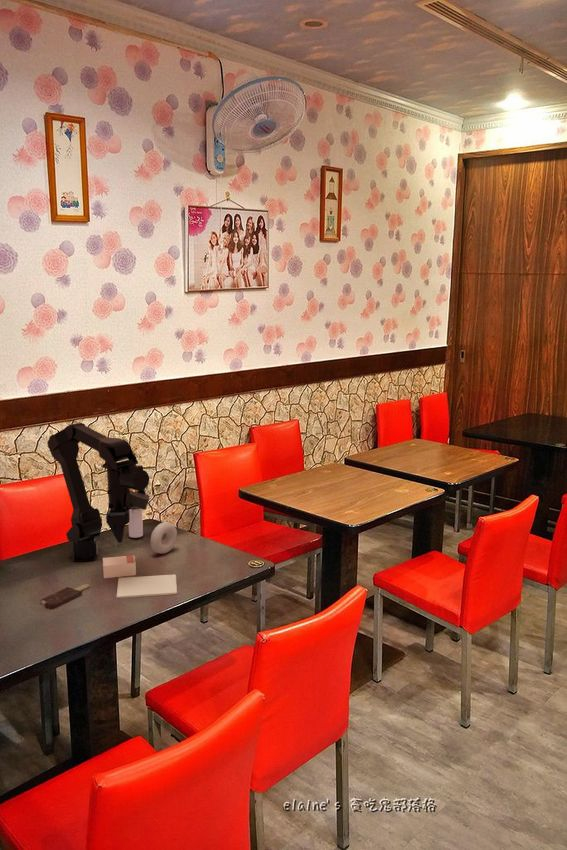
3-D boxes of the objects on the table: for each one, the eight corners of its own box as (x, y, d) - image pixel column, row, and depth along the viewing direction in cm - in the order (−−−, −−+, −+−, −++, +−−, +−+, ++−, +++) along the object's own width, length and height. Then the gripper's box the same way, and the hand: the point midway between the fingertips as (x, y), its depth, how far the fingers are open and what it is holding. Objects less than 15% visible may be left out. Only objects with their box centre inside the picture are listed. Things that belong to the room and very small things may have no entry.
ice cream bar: (81, 585, 198) (38, 606, 185) (81, 580, 198) (38, 600, 185) (95, 590, 195) (52, 611, 183) (94, 584, 195) (52, 605, 182)
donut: (156, 559, 216) (155, 528, 214) (148, 556, 218) (147, 525, 216) (179, 549, 224) (179, 519, 222) (172, 547, 226) (171, 517, 224)
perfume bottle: (124, 536, 235) (122, 478, 230) (141, 533, 237) (139, 475, 233) (130, 541, 230) (128, 482, 226) (147, 538, 233) (145, 480, 228)
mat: (116, 598, 190) (116, 596, 189) (118, 579, 201) (118, 577, 201) (177, 594, 192) (177, 592, 192) (175, 576, 204) (175, 574, 204)
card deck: (103, 579, 202) (103, 565, 201) (103, 570, 208) (102, 557, 207) (135, 575, 204) (135, 562, 204) (134, 567, 210) (134, 555, 209)
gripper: (146, 492, 193) (149, 546, 196) (147, 474, 211) (149, 524, 214) (104, 494, 191) (107, 549, 194) (109, 476, 209) (111, 526, 212)
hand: (120, 536), depth 204 cm, fingers open, 9 cm apart
